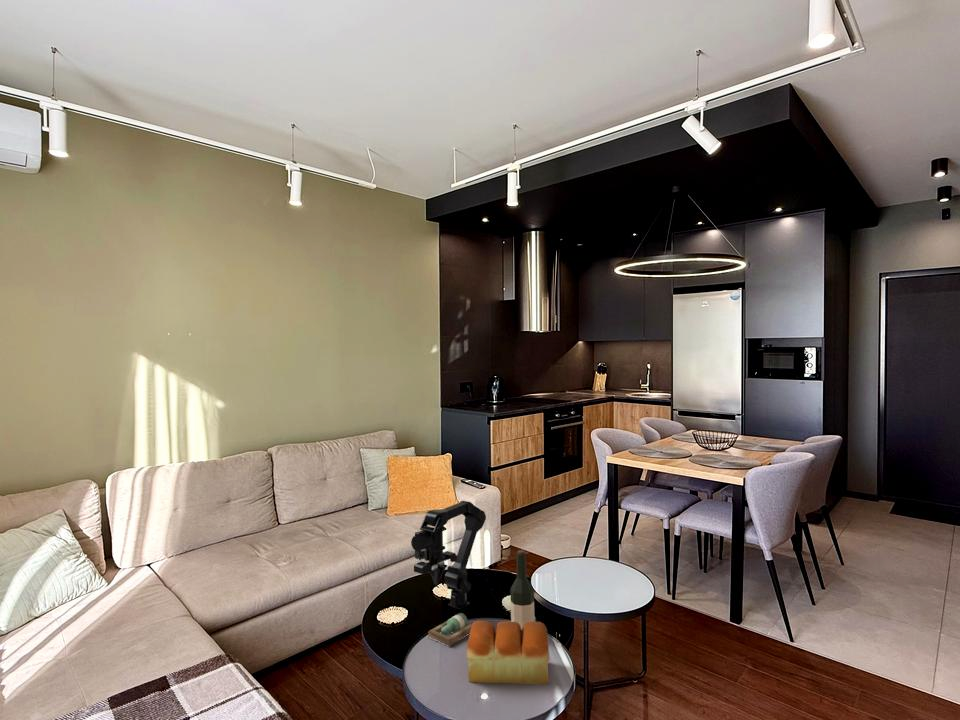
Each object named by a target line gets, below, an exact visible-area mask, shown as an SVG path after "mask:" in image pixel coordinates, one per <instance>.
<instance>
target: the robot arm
mask: <svg viewBox="0 0 960 720" xmlns="http://www.w3.org/2000/svg"><path fill="white" fill-rule="evenodd" d="M460 515H462V516H463V517H464V525H465V526H464V527H465V530H464V532H463V537H462V540H461V543H460V545H459V548H458V551H457V554H456V552H453V551H449V550H446V546H445V545H444V540H443V539H444V537H443V536H444V535H443V534H444V532H445V531H447V527H446V526H445V525H447V524H448V522H449V521H450V520H451V519H453V518H456V517H459V516H460ZM486 517H487V515H486V513H485V511H484V510H482V509H481V508H479V507H477V506H476V505H474V504H473V503H472V502H471V501H468V500H467V501H466V500H461V501H460V502H457V503H456V504H453V505H450V506H447V507H445V508H442V509H431V510H428V511H427V512H426V514H425V516H424V519H423V520H422V523H421V525H420V528H419V530H420V531H415V533H414V536H412V537H411V541H410V544H411V547H412V549H413V551H414V558H415V559H416V560H418V561H420V562H417V563H415V564H414V565H413V572H415V573H417V574H421V575H427V574H430V576H431V578H432V581H433V584H434V585H435V586H437V585H439V583H440V581H441V579H442V576H443V574H444V572H445V570H446V572H445V574H444V583H445V586H446V588H447V590H450V602H449V603H448V604H447V605H448V606H449V607H451V608H454V609H457V610H462V609H463V608H466V607H467V606H469V605H470V604H471V602H470V601H468V593H469V591H471V589H472V584H471V583H470V582H469V581H468V580H467V579H468V571H467V566H468V562H469V559H470V556H471V553H472V550H473V546H474V543H475V540H476V537H477V534H478V532H479V531H481V530H482V528H483V527H484V524H485V522H486V519H487V518H486ZM445 550H446V551H445ZM422 560H424V561H422ZM448 560H449V561H450V563H453V564H452V565H451V566H450V565H447V564H446V561H448ZM425 561H426V562H425Z"/></svg>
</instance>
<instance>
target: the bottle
mask: <svg viewBox="0 0 960 720" xmlns="http://www.w3.org/2000/svg"><path fill="white" fill-rule="evenodd" d="M446 621H447V625H446V626H444V627H442V628H441V633H442V634H443V635H446V636H448V634H451V633H450V632H453V633H456V632H458V631H459V630H461V629H463V628H464V627H466V626H468V625H469V621H468V618H467V616H466V615H465V614H464V613H463V612H459V613H457V614H455V615H454V616H451V618H448V619H447V620H446Z"/></svg>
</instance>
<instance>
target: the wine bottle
mask: <svg viewBox="0 0 960 720" xmlns="http://www.w3.org/2000/svg"><path fill="white" fill-rule="evenodd" d="M534 591H535V590H534V587H533V586H532V584H531V583H530V580H529V579H528V577H527V553H526V552H525V550H523V549H519V550H517V553H516V578H515V580H514V581H513V583H512V585H511V587H510V589H509V592H510V622H517V623H519V624H520V627H521V634H522V628H523V626H524V624H525V623H527V622H536V621H535V618H536V617H535V592H534Z"/></svg>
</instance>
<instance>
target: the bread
mask: <svg viewBox="0 0 960 720" xmlns="http://www.w3.org/2000/svg"><path fill="white" fill-rule="evenodd" d="M472 623H473V624H472V626H471V630H470V635H468V641H467V644H466V645H467V646H466V659H467V663H468V664H467V665H468V683H488V684H489V683H492V684H493V683H494V684H495V683H496V684H522V685H523V684H527V685H528V684H529V685H530V684H531V685H549V661H550V651H549V650H550V649H549V639H548V629H547V626H546V625H545V623H543V622H541V621H535V622H527V623H525V624H524V626H523V628H522V634H521V627H520V624H519V623H517V622H511V621H499V622H498V623H497V624H496V626H495V624H493V622H490V621H488V620H476V621H474V622H472Z"/></svg>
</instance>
